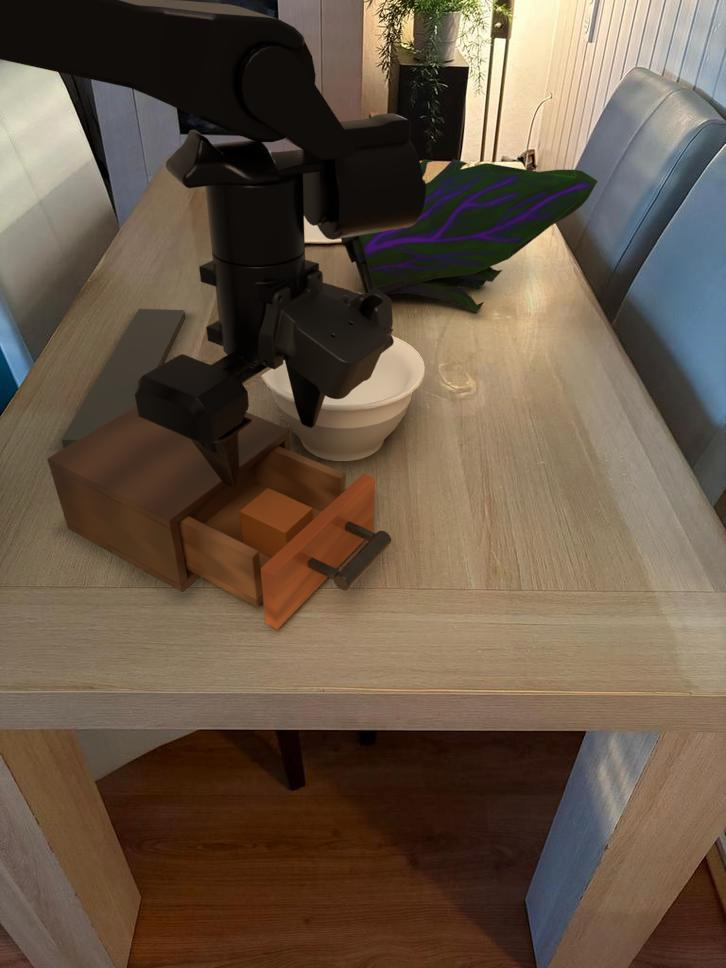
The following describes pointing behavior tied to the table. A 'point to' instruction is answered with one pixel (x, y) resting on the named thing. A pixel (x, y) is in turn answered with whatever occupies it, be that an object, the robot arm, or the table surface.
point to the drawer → (301, 561)
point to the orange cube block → (273, 521)
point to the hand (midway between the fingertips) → (271, 453)
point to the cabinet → (146, 487)
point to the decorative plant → (466, 229)
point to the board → (126, 370)
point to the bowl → (355, 406)
